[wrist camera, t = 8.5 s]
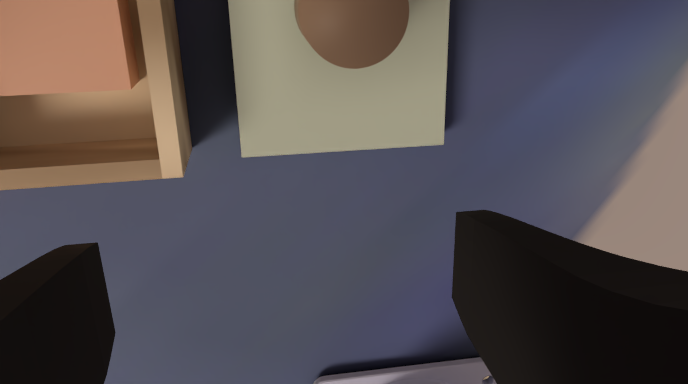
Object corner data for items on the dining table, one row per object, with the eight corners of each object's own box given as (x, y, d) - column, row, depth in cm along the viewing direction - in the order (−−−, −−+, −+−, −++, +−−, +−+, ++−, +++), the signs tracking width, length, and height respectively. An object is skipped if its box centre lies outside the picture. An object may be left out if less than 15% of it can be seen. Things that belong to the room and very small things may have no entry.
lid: (433, 134, 22) (469, 167, 18) (242, 146, 21) (240, 183, 17) (443, -156, 18) (490, -187, 15) (215, -157, 17) (206, -190, 14)
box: (192, 148, 20) (183, 177, 17) (-13, 161, 19) (-57, 194, 16) (155, -150, 17) (137, -174, 14) (-92, -150, 16) (-164, -175, 13)
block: (139, 80, 19) (130, 89, 17) (6, 87, 18) (-14, 96, 17) (119, -56, 17) (107, -59, 16) (-27, -53, 17) (-52, -55, 15)
